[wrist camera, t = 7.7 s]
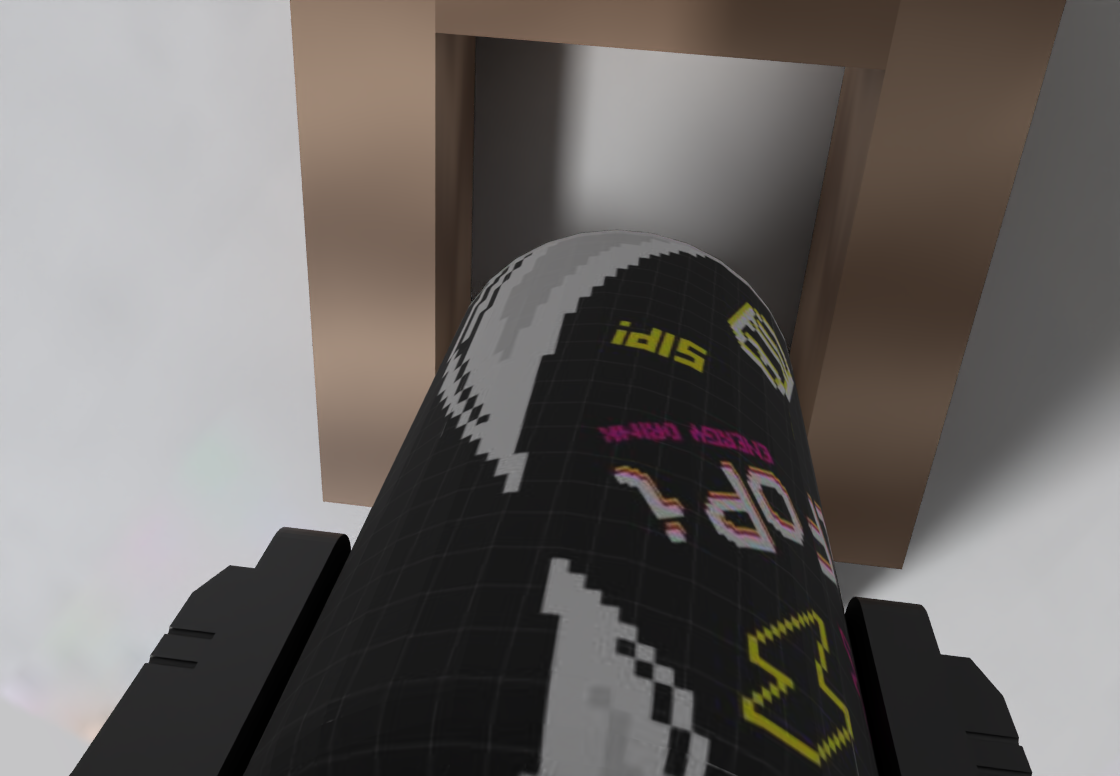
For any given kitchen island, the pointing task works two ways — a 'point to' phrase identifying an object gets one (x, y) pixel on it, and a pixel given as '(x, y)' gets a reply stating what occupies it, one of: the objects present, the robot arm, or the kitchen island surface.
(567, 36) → the socket block
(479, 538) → the beverage can
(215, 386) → the kitchen island surface
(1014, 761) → the robot arm
